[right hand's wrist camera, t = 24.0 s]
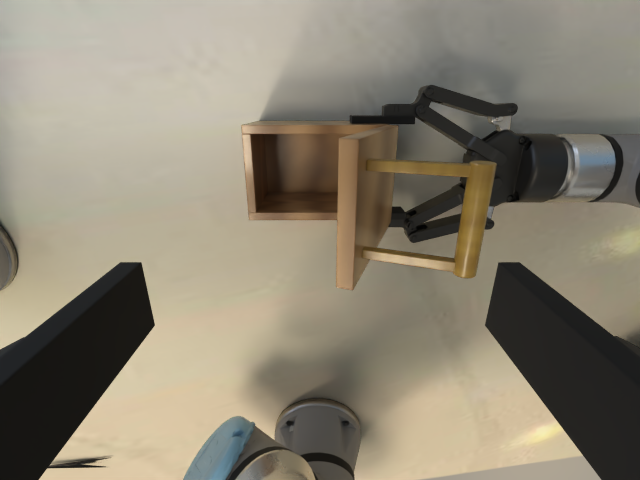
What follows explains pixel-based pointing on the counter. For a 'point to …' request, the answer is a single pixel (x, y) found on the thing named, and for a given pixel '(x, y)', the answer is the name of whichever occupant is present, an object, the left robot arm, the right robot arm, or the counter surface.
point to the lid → (376, 206)
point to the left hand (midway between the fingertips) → (349, 168)
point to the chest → (294, 168)
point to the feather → (76, 464)
